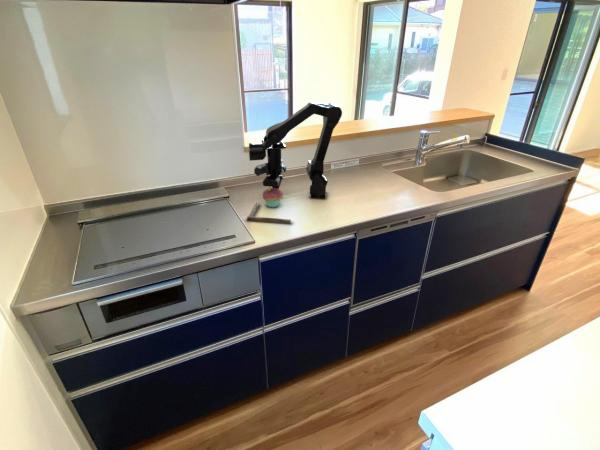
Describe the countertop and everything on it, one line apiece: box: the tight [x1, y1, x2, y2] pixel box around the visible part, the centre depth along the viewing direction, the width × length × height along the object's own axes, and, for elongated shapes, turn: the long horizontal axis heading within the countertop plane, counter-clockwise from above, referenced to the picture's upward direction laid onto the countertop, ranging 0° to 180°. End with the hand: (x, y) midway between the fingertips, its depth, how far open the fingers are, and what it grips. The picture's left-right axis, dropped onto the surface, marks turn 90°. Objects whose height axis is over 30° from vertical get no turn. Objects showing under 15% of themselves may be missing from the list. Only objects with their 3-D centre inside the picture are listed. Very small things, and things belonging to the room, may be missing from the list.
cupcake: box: [261, 186, 284, 208], centre depth 142 cm, size 9×8×12 cm
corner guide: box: [246, 202, 292, 225], centre depth 137 cm, size 17×13×2 cm
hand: (275, 193), depth 149 cm, fingers closed
